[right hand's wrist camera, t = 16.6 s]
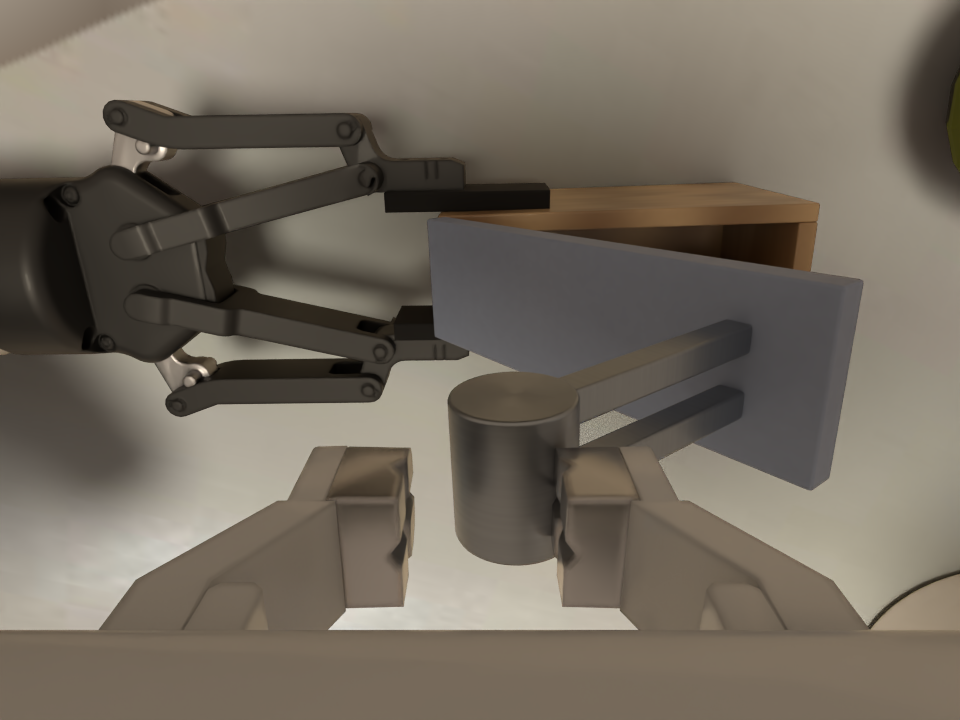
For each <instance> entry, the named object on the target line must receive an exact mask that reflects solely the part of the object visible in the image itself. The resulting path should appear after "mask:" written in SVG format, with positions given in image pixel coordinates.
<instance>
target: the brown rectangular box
mask: <svg viewBox="0 0 960 720" xmlns="http://www.w3.org/2000/svg"><path fill="white" fill-rule="evenodd" d="M819 207H820V204H819V203H816V202H812V201H808V200H804V199H800V198H796V197H792V196H788V195H784V194H780V193H776V192H772V191H768V190H764V189H760V188H756V187H752V186H748V185H744V184H739V183H736V182H732V183H704V184H675V185H646V186H618V187H589V188H561V189H550V209H526V210H498V211H447V212H441V213H440V214H439V216H438V218H440V217H449V218H456V219H463V220H469V221H476V222H482V223H489V224H496V225H502V226H509V227H516V228H522V229H529V230H536V231H542V232H549V233H556V234H562V235H569V236H576V237H582V238H589V239H596V240H602V241H609V242H616V243H622V244H629V245H635V246H642V247H649V248H655V249H662V250H669V251H675V252H682V253H689V254H695V255H702V256H709V257H715V258H722V259H729V260H735V261H742V262H749V263H755V264H762V265H769V266H775V267H782V268H788V269H795V270H802V271H808V272H810V271H811V264H812V257H813V250H814V244H815V237H816V230H817V222H816V221H817V220H818V214H819Z"/></svg>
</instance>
